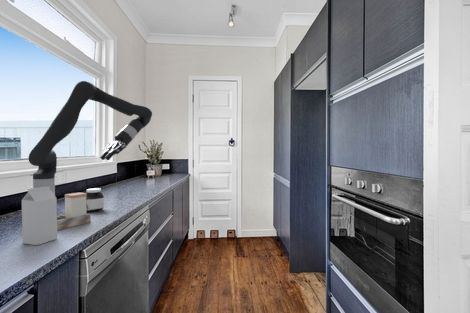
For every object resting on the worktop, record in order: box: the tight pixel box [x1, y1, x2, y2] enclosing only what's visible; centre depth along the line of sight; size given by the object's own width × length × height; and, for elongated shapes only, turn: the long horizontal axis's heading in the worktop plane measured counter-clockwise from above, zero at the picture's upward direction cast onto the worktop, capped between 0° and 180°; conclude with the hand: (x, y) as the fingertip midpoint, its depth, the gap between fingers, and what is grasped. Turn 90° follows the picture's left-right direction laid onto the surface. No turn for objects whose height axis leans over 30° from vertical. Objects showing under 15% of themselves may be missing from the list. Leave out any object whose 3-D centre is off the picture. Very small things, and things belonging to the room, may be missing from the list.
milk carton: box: [21, 186, 58, 246], centre depth 88 cm, size 7×7×19 cm
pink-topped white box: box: [64, 192, 87, 219], centre depth 111 cm, size 6×6×11 cm
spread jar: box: [85, 187, 105, 213], centre depth 133 cm, size 12×11×12 cm
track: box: [57, 213, 92, 231], centre depth 107 cm, size 18×9×6 cm, turn 147°
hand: (104, 158), depth 123 cm, fingers open, 3 cm apart
